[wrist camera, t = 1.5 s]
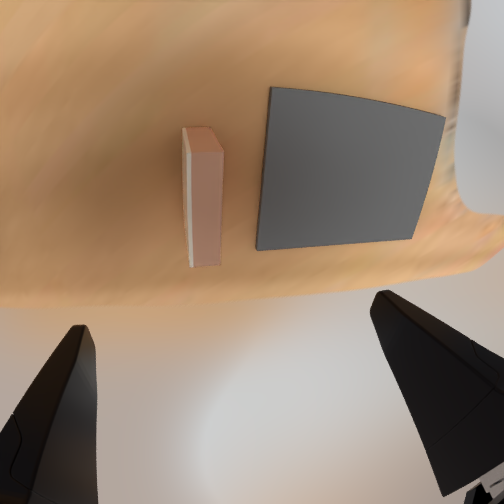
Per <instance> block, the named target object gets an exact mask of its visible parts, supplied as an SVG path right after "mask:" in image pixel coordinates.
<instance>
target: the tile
mask: <svg viewBox="0 0 504 504" xmlns="http://www.w3.org/2000/svg"><path fill="white" fill-rule="evenodd" d="M223 165H224V151H223V149H222V147H221V145H220V143H219V142H218V140H217V138H216V136H215V134H214V133H213V131H212V129H211V127H189V128H182V181H183V215H184V227H185V235H186V243H187V251H188V259H189V266H190V267H202V266H214V265H221V224H222V192H223Z"/></svg>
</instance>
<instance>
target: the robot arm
mask: <svg viewBox="0 0 504 504" xmlns="http://www.w3.org/2000/svg"><path fill="white" fill-rule="evenodd" d="M370 316H371V319H372V322H373V324H374V327H375V330H376V333H377V335H378V338H379V341H380V344H381V347H382V350H383V352H384V355H385V357H386V359H387V361H388V363H389V366H390V368H391V370H392V372H393V374H394V377H395V379H396V381H397V383H398V386H399V388H400V390H401V392H402V395H403V397H404V399H405V402H406V404H407V406H408V409H409V411H410V413H411V416H412V418H413V421H414V423H415V425H416V428H417V430H418V433H419V435H420V438H421V440H422V442H423V445H424V448H425V450H426V453H427V456H428V459H429V461H430V464H431V467H432V469H433V472H434V475H435V477H436V480H437V483H438V485H439V488H440V491H441V494H442V496H443V497H445V496H447V495H449V494H451V493H453V492H455V491H457V490H458V489H460V488H462V487H464V486H466V485H467V484H469V483H471V482H473V481H474V480H476V479H478V478H479V480H480V482H479V483H478V484H477V485H476V486H474V487H473V488H472V489H470V490H469V491H468V492H467V493H466V497H465V501H464V504H504V358H502V357H500V356H498V355H497V354H495V353H493V352H491V351H489V350H487V349H486V348H484V347H483V346H481V345H479V344H478V343H476V342H475V341H473V340H470V338H468V337H467V336H465V335H463V334H462V333H460V332H459V331H457V330H455V329H454V328H452V327H450V326H449V325H447V324H445V323H444V322H442V321H441V320H439V319H437V318H435V317H434V316H432V315H431V314H429V313H427V312H426V311H424V310H422V309H421V308H419V307H417V306H416V305H414V304H412V303H410V302H409V301H407V300H405V299H404V298H402V297H400V296H399V295H397V294H395V293H394V292H392V291H390V290H383V291H379V292H377V294H376V296H375V298H374V301H373V303H372V306H371V308H370ZM13 414H14V415H13ZM13 414H12V415H11V416H10V418H9V420H8V421H7V423H6V424H5V426H4V428H3V429H2V431H1V432H0V504H98V491H97V470H96V421H97V420H96V419H97V382H96V351H95V345H94V342H93V339H92V337H91V334H90V332H89V329H88V327H87V326H86V325H74V326H72V327H71V328H70V330H69V331H68V333H67V334H66V335H65V336H64V338H63V339H62V341H61V342H60V343H59V345H58V346H57V347H56V349H55V350H54V352H53V353H52V354H51V356H50V357H49V359H48V360H47V362H46V363H45V364H44V366H43V367H42V369H41V370H40V372H39V373H38V375H37V376H36V378H35V379H34V381H33V382H32V384H31V385H30V387H29V388H28V390H27V391H26V393H25V395H24V396H23V397H22V399H21V400H20V402H19V404H18V405H17V407H16V408H15V410H14V412H13Z"/></svg>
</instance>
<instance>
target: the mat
mask: <svg viewBox="0 0 504 504" xmlns="http://www.w3.org/2000/svg"><path fill="white" fill-rule="evenodd" d="M445 120H446V118H445V117H443V116H440V115H436V114H432V113H429V112H425V111H421V110H417V109H413V108H409V107H404V106H400V105H395V104H391V103H386V102H381V101H376V100H371V99H365V98H360V97H354V96H347V95H341V94H334V93H327V92H319V91H311V90H302V89H292V88H280V87H270V96H269V107H268V118H267V129H266V140H265V151H264V162H263V172H262V183H261V194H260V205H259V216H258V226H257V237H256V250H257V251H263V250H276V249H289V248H302V247H315V246H328V245H341V244H353V243H366V242H379V241H392V240H405V239H412V236H413V234H414V231H415V228H416V225H417V222H418V219H419V216H420V213H421V210H422V207H423V203H424V200H425V197H426V194H427V190H428V187H429V184H430V180H431V177H432V173H433V169H434V166H435V162H436V158H437V154H438V150H439V146H440V142H441V138H442V133H443V129H444V124H445Z"/></svg>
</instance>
